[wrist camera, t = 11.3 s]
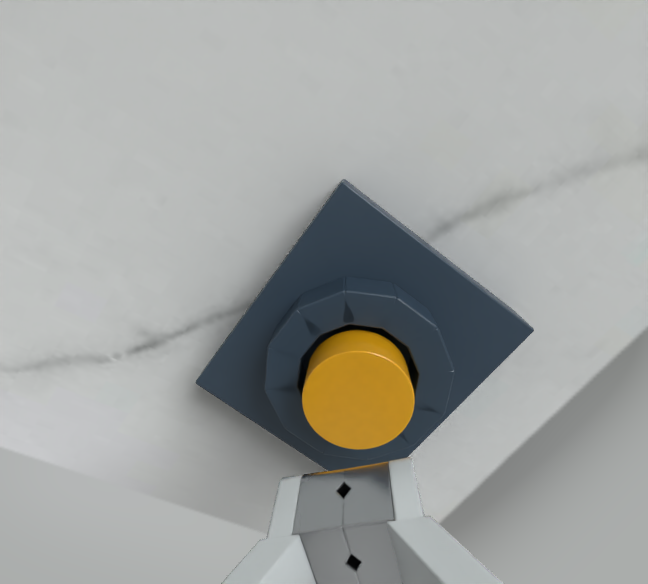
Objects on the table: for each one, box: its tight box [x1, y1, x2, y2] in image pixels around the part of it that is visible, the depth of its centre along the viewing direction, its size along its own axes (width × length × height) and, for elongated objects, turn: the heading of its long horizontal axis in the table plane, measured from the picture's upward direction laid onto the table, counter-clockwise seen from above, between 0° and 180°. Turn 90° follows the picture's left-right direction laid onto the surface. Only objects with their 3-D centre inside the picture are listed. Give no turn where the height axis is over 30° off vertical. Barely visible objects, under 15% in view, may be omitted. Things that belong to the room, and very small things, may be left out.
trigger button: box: [302, 330, 415, 450], centre depth 14 cm, size 4×4×2 cm
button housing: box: [196, 179, 534, 471], centre depth 17 cm, size 10×9×4 cm
